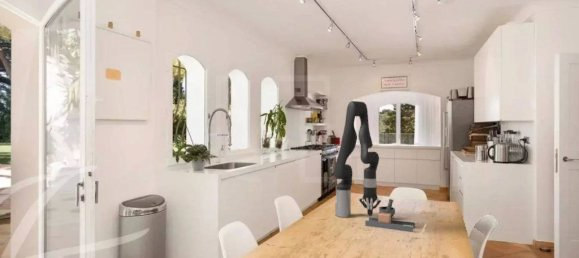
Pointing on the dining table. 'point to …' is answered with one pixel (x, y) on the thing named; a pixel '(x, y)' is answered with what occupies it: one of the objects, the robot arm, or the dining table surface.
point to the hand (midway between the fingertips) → (370, 215)
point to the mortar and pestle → (388, 208)
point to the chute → (391, 224)
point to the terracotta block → (384, 217)
